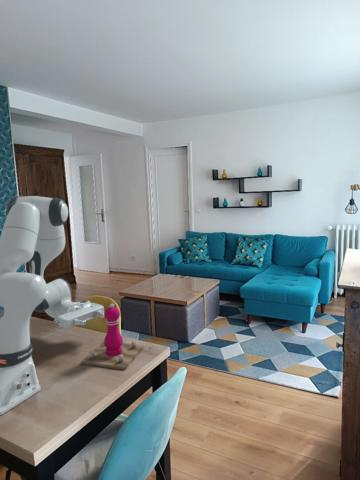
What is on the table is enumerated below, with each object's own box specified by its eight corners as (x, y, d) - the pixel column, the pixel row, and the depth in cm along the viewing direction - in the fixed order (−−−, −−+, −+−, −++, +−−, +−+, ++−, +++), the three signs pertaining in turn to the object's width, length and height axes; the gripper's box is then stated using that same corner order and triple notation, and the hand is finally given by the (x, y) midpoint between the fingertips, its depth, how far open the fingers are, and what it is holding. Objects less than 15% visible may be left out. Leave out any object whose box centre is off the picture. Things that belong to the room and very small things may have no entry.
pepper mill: (125, 348, 139) (123, 300, 136) (120, 357, 132) (118, 306, 129) (107, 348, 139) (105, 300, 137) (102, 356, 132) (99, 306, 130)
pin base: (125, 369, 124) (124, 360, 124) (81, 364, 129) (80, 354, 129) (143, 348, 142) (143, 339, 141) (104, 343, 146) (103, 335, 146)
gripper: (50, 313, 139) (72, 319, 131) (90, 299, 155) (112, 305, 147) (51, 327, 140) (73, 335, 132) (91, 313, 156) (112, 319, 148)
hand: (94, 319), depth 140 cm, fingers open, 8 cm apart
